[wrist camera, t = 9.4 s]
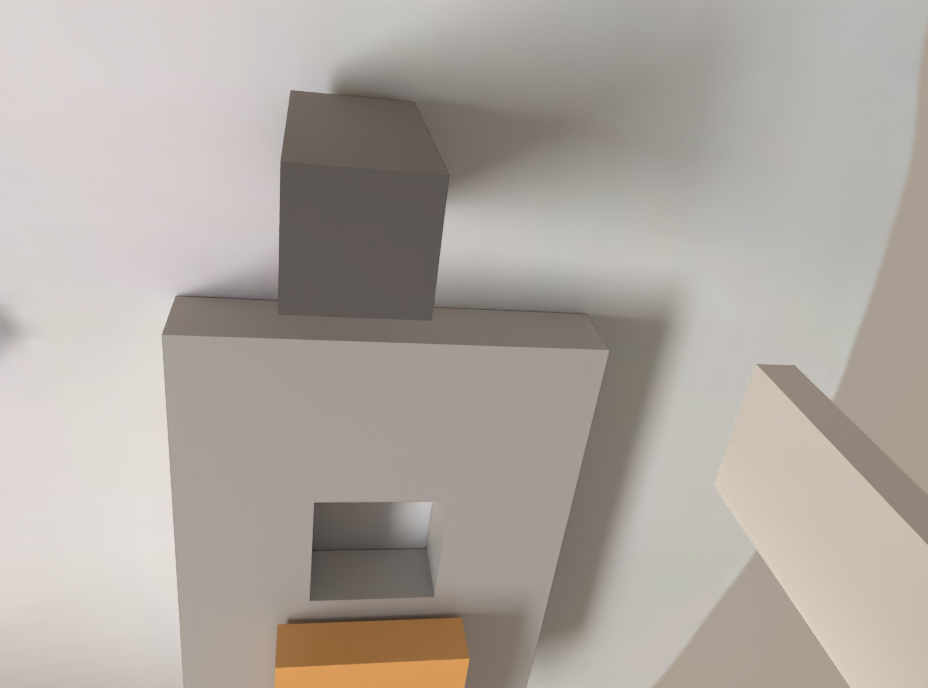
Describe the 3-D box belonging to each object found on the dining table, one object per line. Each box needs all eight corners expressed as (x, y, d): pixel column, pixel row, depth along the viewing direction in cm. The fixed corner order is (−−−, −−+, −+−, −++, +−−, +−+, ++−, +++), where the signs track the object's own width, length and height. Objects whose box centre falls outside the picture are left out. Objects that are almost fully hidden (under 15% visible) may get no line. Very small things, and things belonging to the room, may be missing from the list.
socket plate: (175, 296, 29) (161, 334, 26) (586, 314, 32) (609, 350, 30) (194, 664, 38) (185, 719, 36) (510, 650, 42) (523, 699, 39)
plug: (291, 84, 26) (280, 161, 18) (411, 95, 27) (449, 175, 19) (289, 199, 28) (278, 314, 20) (400, 207, 29) (431, 320, 21)
